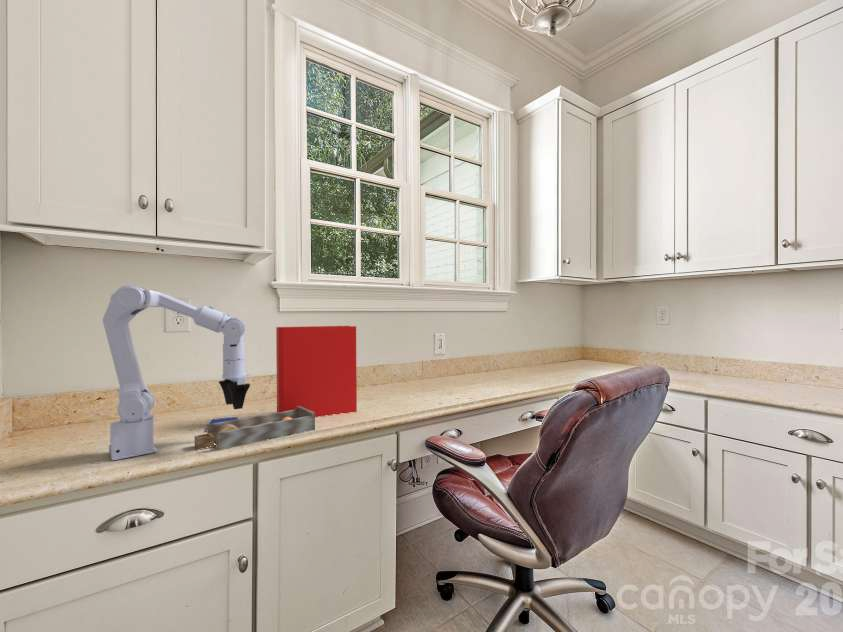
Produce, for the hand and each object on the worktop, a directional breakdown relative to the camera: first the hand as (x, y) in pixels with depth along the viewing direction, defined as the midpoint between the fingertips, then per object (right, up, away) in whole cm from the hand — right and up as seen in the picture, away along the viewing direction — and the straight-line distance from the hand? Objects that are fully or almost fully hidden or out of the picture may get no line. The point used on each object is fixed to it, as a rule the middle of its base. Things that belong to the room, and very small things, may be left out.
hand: (234, 406), depth 113 cm
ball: (+12, -8, +10) cm, 17 cm away
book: (+16, -10, +30) cm, 35 cm away
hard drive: (-11, -11, +16) cm, 22 cm away
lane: (+6, -14, +5) cm, 16 cm away
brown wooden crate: (-6, -10, -5) cm, 13 cm away
